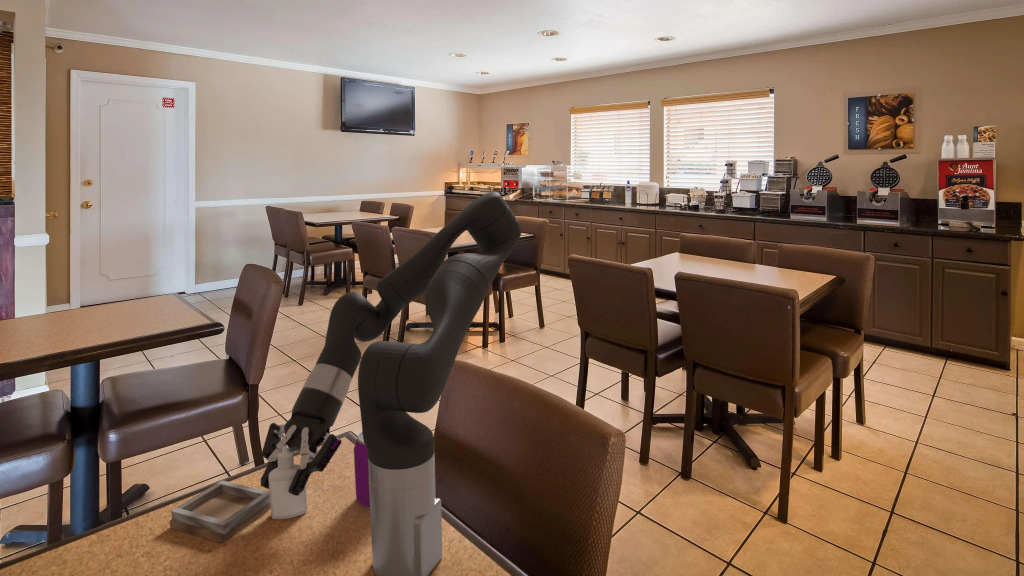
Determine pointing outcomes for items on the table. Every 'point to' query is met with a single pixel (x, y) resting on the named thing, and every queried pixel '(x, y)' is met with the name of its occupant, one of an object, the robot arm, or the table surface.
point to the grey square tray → (220, 511)
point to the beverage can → (361, 472)
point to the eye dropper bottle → (285, 488)
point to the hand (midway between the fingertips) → (279, 490)
